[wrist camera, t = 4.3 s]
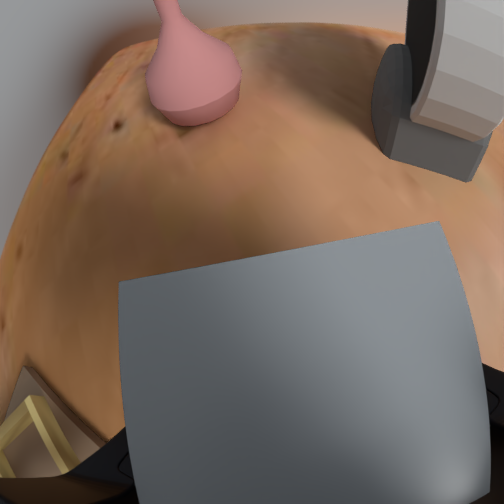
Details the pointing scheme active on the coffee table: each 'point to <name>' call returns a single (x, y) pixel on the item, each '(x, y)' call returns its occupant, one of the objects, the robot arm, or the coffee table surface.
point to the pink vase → (191, 71)
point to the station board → (31, 439)
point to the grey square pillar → (307, 377)
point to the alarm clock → (442, 86)
